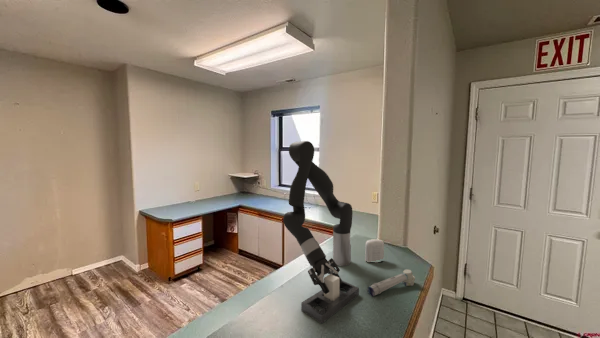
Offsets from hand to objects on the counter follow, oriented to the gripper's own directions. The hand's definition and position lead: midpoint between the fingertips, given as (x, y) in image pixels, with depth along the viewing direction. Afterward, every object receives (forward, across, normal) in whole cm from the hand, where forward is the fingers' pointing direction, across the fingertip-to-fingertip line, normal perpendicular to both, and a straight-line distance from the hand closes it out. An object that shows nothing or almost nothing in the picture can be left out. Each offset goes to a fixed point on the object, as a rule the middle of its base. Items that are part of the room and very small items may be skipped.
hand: (334, 288), depth 92 cm
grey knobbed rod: (+13, +27, -3) cm, 30 cm away
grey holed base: (+3, 0, +5) cm, 6 cm away
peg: (+3, 0, +5) cm, 6 cm away
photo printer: (-1, +46, +10) cm, 47 cm away
